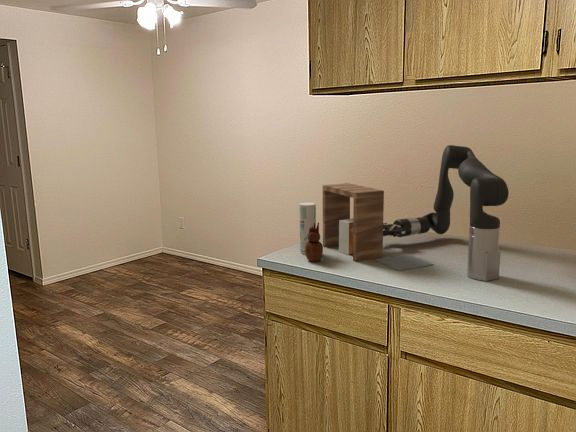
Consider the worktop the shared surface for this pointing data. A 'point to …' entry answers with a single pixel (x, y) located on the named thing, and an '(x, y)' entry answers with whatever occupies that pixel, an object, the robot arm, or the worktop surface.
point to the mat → (403, 262)
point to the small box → (346, 236)
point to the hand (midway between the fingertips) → (374, 231)
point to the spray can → (306, 222)
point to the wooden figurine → (314, 245)
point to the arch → (355, 218)
